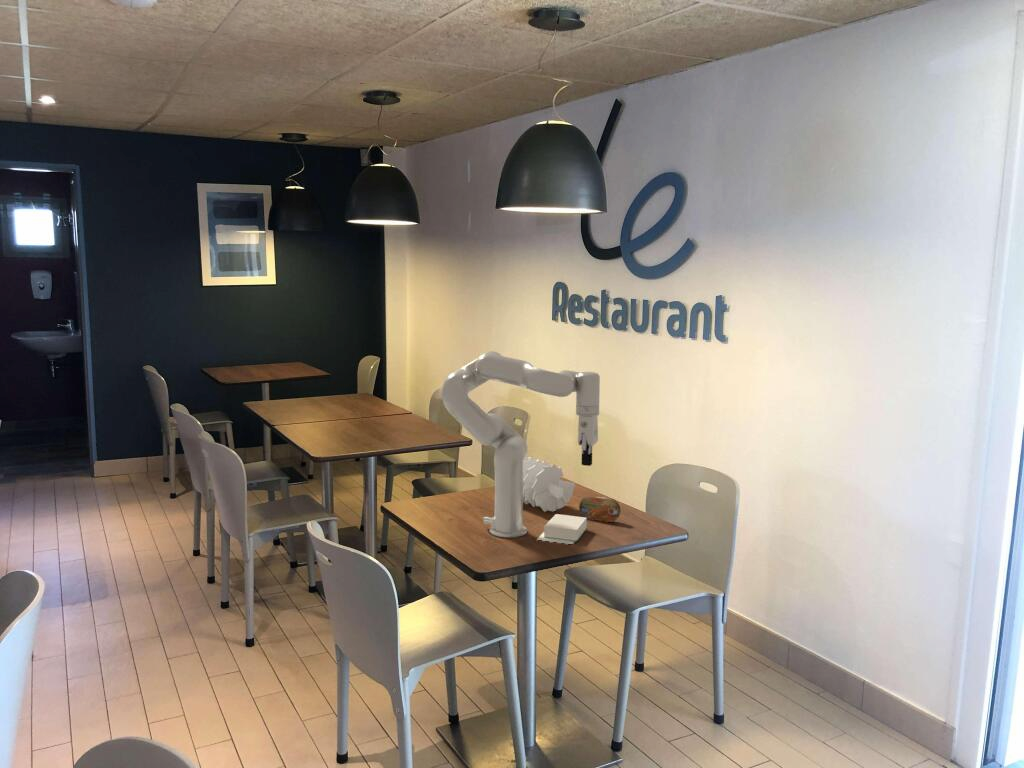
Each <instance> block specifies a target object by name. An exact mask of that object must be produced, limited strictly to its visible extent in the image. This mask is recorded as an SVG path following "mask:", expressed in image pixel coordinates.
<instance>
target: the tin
mask: <svg viewBox="0 0 1024 768" xmlns="http://www.w3.org/2000/svg"><path fill="white" fill-rule="evenodd" d="M578 509H579V512H580V514H581V517H585V518H588V519H587V520H589V519H593V520H592V521H595V520H599V521H598V522H602V521H604V522H603V523H608V522H610V523H612V522H613V523H614V522H616V520H618V519H619V517H620V514H621V506H620V504H619V502H618V501H617V500H615V499H613V498H610V497H601V496H596V495H595V496H594V495H587V496H586V497H584V498H582V499H581V501H580V502H579V505H578Z"/></svg>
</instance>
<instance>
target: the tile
mask: <svg viewBox="0 0 1024 768" xmlns="http://www.w3.org/2000/svg"><path fill="white" fill-rule="evenodd" d="M587 520H588V519H587V518H585V517H583V516H576V515H568V514H561V513H560V514H558V513H555V514H554V515H553V517H552V518H550V520H548V522H547V523H546V524H545V525H544V526H543V528H544V529H543V532H544V538H552V539H559V540H567V541H575V542H574V543H576V542H577V541H579V539H580V538H581V537H582V535H583V534H585V532H586V530H587V524H588V523H587V522H588V521H587Z"/></svg>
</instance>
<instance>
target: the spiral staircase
mask: <svg viewBox="0 0 1024 768" xmlns="http://www.w3.org/2000/svg"><path fill="white" fill-rule="evenodd" d="M562 470H563V469H562V467H561V466H556V464H554V463H551V464H548V462H547V461H546V460H544V459H543V460H542V462H541V461H540V459H534V458H532V457H531V456H529V457H527V456H525V457H524V459H523V504H524V505H526V504H527V505H528V504H530V505H531V506H532V507H533V508H535V507H540V508H541V510H542V511H543V512H544V513H547V511H549V512H554V511H556V512H557V510H560V509H562V508H564V507H565V506H567V503H568V501H569V500H571V498H572V497H573V493H574V490H575V486H576V483H575V482H572V481H571V482H570V481H565V480H562V479H561V478H563V477H564V474H563V471H562Z"/></svg>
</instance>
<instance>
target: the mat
mask: <svg viewBox="0 0 1024 768" xmlns="http://www.w3.org/2000/svg"><path fill="white" fill-rule="evenodd" d="M538 540H542V541H541V542H545V541H549V542H548V543H553V542H557V543H556V544H561V543H565V544H564V545H568V544H573V545H574V543H576V542H575V541H567V540H559V539H552V538H544V531H543V532H542V533H541V534H540V535H539V536H538V537H537V538H536V541H538Z"/></svg>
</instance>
